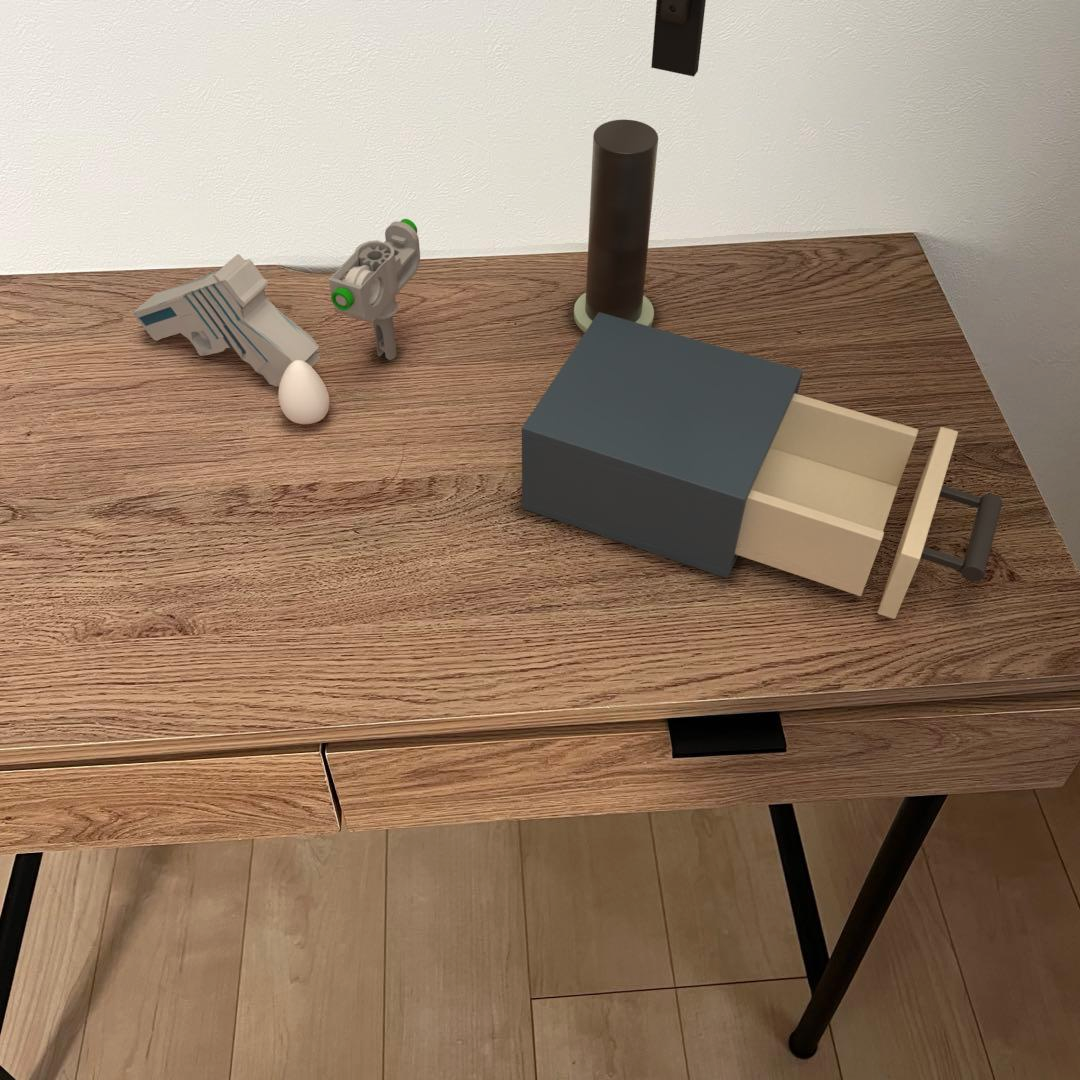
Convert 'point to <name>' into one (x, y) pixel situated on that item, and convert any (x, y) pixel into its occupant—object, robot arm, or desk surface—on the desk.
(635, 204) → the dark brown cylinder
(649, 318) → the coaster
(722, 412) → the cabinet
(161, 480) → the desk surface
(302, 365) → the egg
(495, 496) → the desk surface
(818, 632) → the desk surface
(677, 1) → the robot arm
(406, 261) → the mechanical component
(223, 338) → the toy gun
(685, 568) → the desk surface
